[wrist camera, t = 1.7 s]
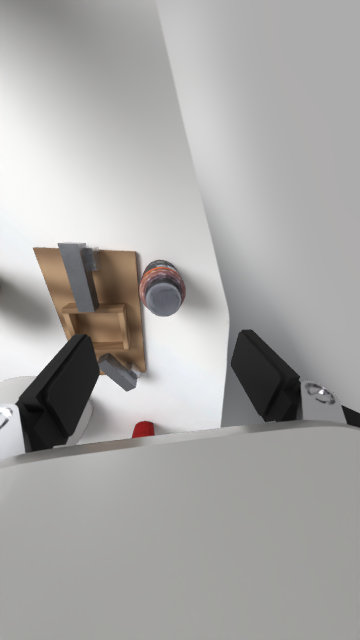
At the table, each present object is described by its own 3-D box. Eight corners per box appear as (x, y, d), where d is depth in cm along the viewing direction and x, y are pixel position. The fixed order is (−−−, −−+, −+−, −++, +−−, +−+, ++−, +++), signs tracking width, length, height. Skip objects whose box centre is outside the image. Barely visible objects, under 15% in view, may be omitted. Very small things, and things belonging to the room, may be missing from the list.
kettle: (47, 442, 46) (-35, 596, 26) (-43, 410, 35) (-297, 629, 15) (111, 408, 42) (71, 558, 22) (31, 360, 31) (-181, 567, 12)
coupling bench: (36, 247, 22) (18, 248, 19) (135, 251, 24) (132, 253, 21) (82, 373, 34) (76, 385, 32) (145, 369, 36) (144, 380, 33)
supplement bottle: (156, 299, 28) (155, 333, 18) (136, 271, 25) (123, 293, 16) (184, 282, 27) (198, 308, 18) (166, 251, 25) (172, 262, 15)
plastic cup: (120, 432, 48) (109, 486, 37) (135, 413, 44) (128, 468, 34) (150, 437, 52) (149, 488, 41) (167, 420, 48) (169, 471, 38)
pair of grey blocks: (70, 241, 22) (50, 242, 18) (127, 244, 23) (121, 245, 19) (106, 376, 35) (99, 395, 31) (141, 374, 36) (139, 391, 32)
